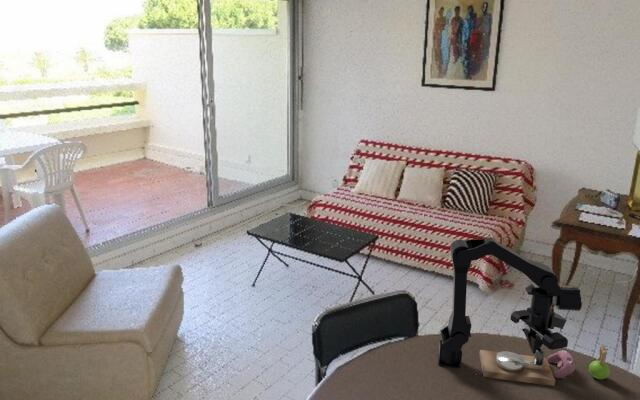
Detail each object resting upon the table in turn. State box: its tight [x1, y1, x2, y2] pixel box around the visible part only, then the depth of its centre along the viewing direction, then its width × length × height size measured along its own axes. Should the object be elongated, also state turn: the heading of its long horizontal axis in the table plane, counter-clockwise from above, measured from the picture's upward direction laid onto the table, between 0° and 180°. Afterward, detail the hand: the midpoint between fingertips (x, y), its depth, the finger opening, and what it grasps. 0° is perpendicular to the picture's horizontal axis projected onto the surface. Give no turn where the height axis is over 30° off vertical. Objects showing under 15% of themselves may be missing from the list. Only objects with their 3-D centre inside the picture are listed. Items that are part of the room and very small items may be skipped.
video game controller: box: [546, 349, 576, 379], centre depth 155 cm, size 10×5×7 cm, turn 169°
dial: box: [496, 348, 546, 372], centre depth 153 cm, size 13×8×6 cm, turn 75°
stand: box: [478, 349, 556, 387], centre depth 155 cm, size 20×12×2 cm, turn 79°
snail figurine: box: [588, 345, 611, 380], centre depth 150 cm, size 5×6×12 cm
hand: (534, 353), depth 154 cm, fingers closed
